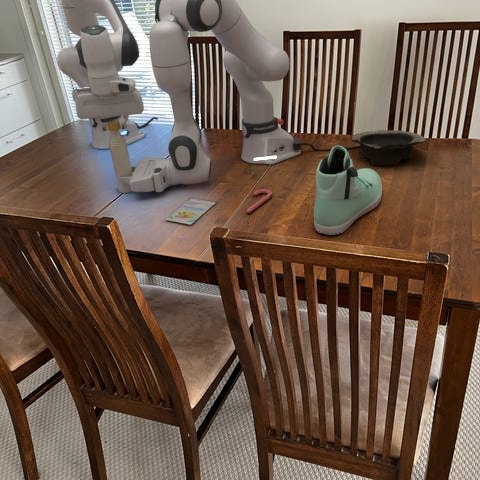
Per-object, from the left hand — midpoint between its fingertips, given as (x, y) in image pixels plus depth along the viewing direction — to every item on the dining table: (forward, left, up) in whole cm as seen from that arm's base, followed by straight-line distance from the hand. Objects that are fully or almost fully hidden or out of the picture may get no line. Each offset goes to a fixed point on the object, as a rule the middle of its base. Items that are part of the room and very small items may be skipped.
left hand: (114, 130), depth 151 cm
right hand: (+1, -1, -15) cm, 15 cm away
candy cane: (-19, +42, -21) cm, 51 cm away
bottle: (0, 0, -21) cm, 21 cm away
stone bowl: (-73, +54, -21) cm, 93 cm away
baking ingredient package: (-3, +30, -21) cm, 37 cm away
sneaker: (-32, +66, -21) cm, 76 cm away
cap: (0, 0, +2) cm, 2 cm away
